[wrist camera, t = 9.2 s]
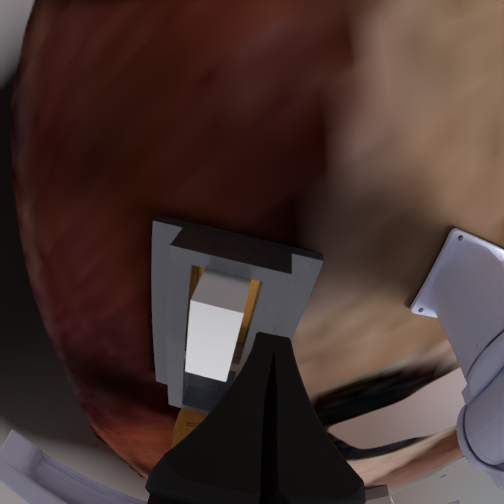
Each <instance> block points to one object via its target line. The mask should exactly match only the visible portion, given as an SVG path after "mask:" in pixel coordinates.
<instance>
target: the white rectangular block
mask: <svg viewBox="0 0 504 504" xmlns="http://www.w3.org/2000/svg"><path fill="white" fill-rule="evenodd" d="M250 282H251V279H248V278H244V277H240V276H236V275H232V274H227V273H223V272H219V271H215V270H211V269H207V268H205V270H204V272H203V274H202V276H201V278H200V280H199V283H198V285H197V287H196V289H195V291H194V294H193V296H192V298H191V301H190V312H189V324H188V336H187V350H186V366H185V372H189V373H193V374H196V375H200V376H204V377H208V378H212V379H216V380H220V381H224V382H226V380H227V376H228V372H229V369H230V365H231V361H232V357H233V353H234V350H235V346H236V342H237V338H238V334H239V330H240V327H241V323H242V319H243V315H244V311H245V306H246V301H247V296H248V292H249V287H250Z"/></svg>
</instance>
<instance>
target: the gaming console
mask: <svg viewBox="0 0 504 504" xmlns="http://www.w3.org/2000/svg"><path fill="white" fill-rule="evenodd" d="M365 493H366V503H365V504H393V500H392V494H391V489H390V488H389V486H388V485H383V486H380V487H376V488H372V489H367V490H365Z"/></svg>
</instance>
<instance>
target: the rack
mask: <svg viewBox="0 0 504 504" xmlns="http://www.w3.org/2000/svg"><path fill="white" fill-rule="evenodd" d="M323 262H324V260H323V254H321V253H317V252H313V251H309V250H305V249H301V248H297V247H293V246H288V245H284V244H280V243H276V242H272V241H268V240H264V239H259V238H255V237H251V236H247V235H243V234H238V233H234V232H230V231H226V230H221V229H217V228H213V227H208V226H204V225H200V224H195V223H191V222H187V221H182V220H178V219H173V218H169V217H165V216H160V215H158V216H157V217H156V218H155V219H154V220H153V228H152V268H151V285H152V325H153V344H154V359H155V372H156V381H158V382H161V383H164V384H167V385H168V400H169V405H172V406H176V407H179V408H183V409H186V410H190V411H194V412H197V413H201V414H205V415H208V414H209V413H210V412H211V411H212V410H213V408H214V407H215V406H216V405H217V404H218V402H219V401H220V400H221V399H222V397H223V396H224V395H225V394H226V392H227V391H228V389H229V388H230V387H231V385H232V384H233V382H234V380H235V379H236V377H237V376H238V374H239V373H240V371H241V369H242V367H243V366H244V364H245V362H246V360H247V358H248V356H249V354H250V352H251V349H252V346H253V343H254V339H255V336H256V333H258V332H264V333H268V334H273V335H278V336H283V337H289V338H290V340H291V339H292V337H293V335H294V332H295V330H296V328H297V325H298V323H299V321H300V318H301V316H302V314H303V311H304V309H305V307H306V304H307V302H308V299H309V297H310V295H311V292H312V290H313V287H314V285H315V282H316V280H317V277H318V275H319V272H320V270H321V267H322V264H323ZM205 268H207V269H211V270H215V271H219V272H223V273H227V274H232V275H236V276H240V277H244V278H248V279H251V282H250V287H249V292H248V296H247V301H246V306H245V311H244V315H243V319H242V323H241V327H240V330H239V334H238V338H237V342H236V346H235V350H234V353H233V357H232V361H231V365H230V369H229V372H228V376H227V380H226V382H224V381H220V380H216V379H212V378H208V377H204V376H200V375H196V374H193V373H189V372H185V366H186V350H187V336H188V324H189V312H190V301H191V298H192V296H193V294H194V291H195V289H196V287H197V285H198V283H199V280H200V278H201V276H202V274H203V272H204V270H205Z"/></svg>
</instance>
